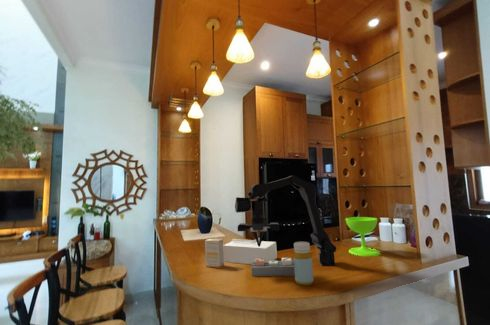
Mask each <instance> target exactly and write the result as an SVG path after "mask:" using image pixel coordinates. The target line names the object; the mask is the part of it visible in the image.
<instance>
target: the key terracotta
mask: <svg viewBox="0 0 490 325" xmlns="http://www.w3.org/2000/svg"><path fill="white" fill-rule="evenodd" d="M255 266H264V258H261V259H255Z"/></svg>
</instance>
